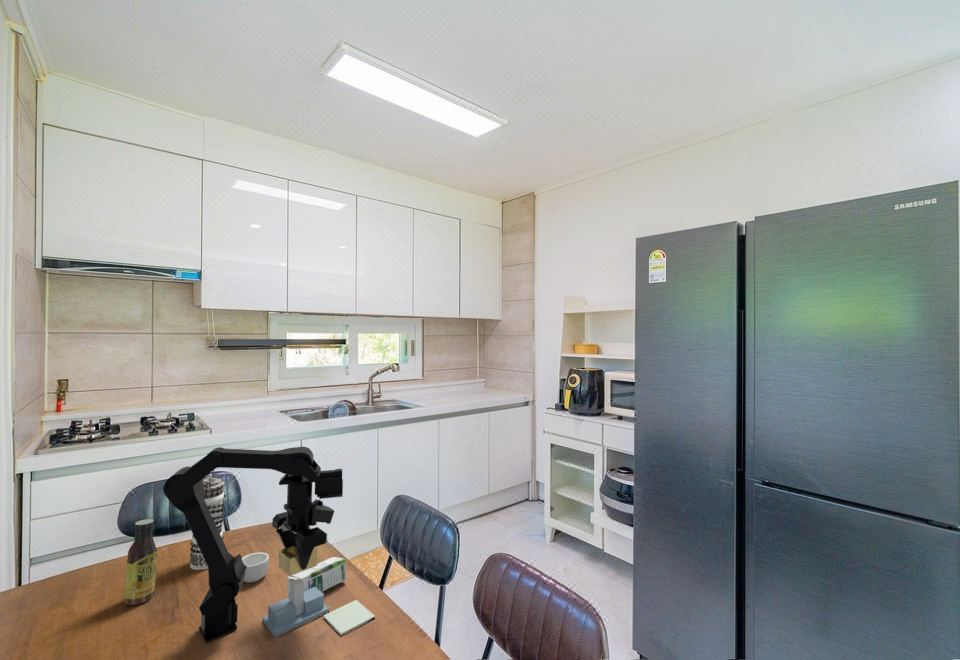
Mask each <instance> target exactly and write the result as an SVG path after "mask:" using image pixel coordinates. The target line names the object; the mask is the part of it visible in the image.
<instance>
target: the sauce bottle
mask: <svg viewBox="0 0 960 660" xmlns="http://www.w3.org/2000/svg"><path fill="white" fill-rule="evenodd" d="M154 526H155V520H154V519H152V518H147V519H141V520H138V521H137V522H135V523H134V527H133V528H134V530H135V531H134V540H133V543H132V544H131V546H130V547H129V550H127V551H128V552H127V561H126V567H125V568H126V569H125V582H124V595H123V596H124V604H125V605H127V606H137V605H140V604H143V603H146V602H148V601H149V600H150V599H151V598H153V597H154V595H155V591H156V590H155V589H156V577H157V576H156V575H157V560H158V550H157V549H158V548H157V547H156V546H157V545H156V542H155V540H154V537H153V536H154V534H153V533H154V529H153V528H154Z"/></svg>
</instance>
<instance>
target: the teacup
mask: <svg viewBox="0 0 960 660" xmlns="http://www.w3.org/2000/svg"><path fill="white" fill-rule="evenodd" d="M242 561H243V563H244V565H245V566H247V568H246V570H245V578H244V581H243V583H244V582H245V583H248V584H250V583H251V584H252V583H255V582H258V581H260V580H261V579H263V578H264V576H265V575H266V574H267V572H268V569H269V563H270V557H269V554H268V553H266V552H261V551H260V552H253V553H249V554H247V555H244V556H243V557H242Z"/></svg>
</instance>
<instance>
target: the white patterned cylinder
mask: <svg viewBox="0 0 960 660" xmlns="http://www.w3.org/2000/svg"><path fill="white" fill-rule="evenodd" d="M203 483H204V495H205V502H206V504H207V507H208V509H209V511H210V513H211V516H212V518H213V520H214V522H215V524H216V527H217V529H218V531H219V533H220V535H221V538H222V540H223V541H224V535H223V523H224V521H225V518H224V517H225V516H226V514H225V512H223V511H225V510H226V506H225V505H226V504H227V503H226V502H227V501H225V500H223V499H225V498H226V497H227V494H225V493H224V485H225V483H226V482H225V481H223V480H222V479H221V478H220V477H217V476H216V477H215V476H212V477H204V478H203ZM189 551H190V553H189V558H190V559H189V563H190V564H189V567H190V569H191V570H194V571H195V570H196V571H201V570H208V566H207V564H206V562H205V559H204V557H203V555H202V553H201V551H200V548H199V546H198V544H197V542H196V540H195V538H194V535H193V534H192V535H191V542H190V550H189Z"/></svg>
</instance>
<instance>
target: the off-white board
mask: <svg viewBox="0 0 960 660" xmlns="http://www.w3.org/2000/svg"><path fill="white" fill-rule="evenodd" d="M322 616H323V617H324V618H325V619H326V620H327V621H328V622H329V623H328V622H327V621H326V620H325V619H324V618H323V617H322V618H323V619H324V620H325V621H326V622H327V623H328V624H329V626H331V625H332V626H333V627H334V628H333V627H332V626H331V627H332V628H333V630H335V632H336V633H337V632H338V633H339V634H340V635H342V634H344V633H346V632H348V631H350V630H352V629H354V628H355V627H357V626H359V627H361V626H362V625H361V624H363V625H365V624H367V623H368V622H367V621H369V620H371V619H372V618H375V619H376V615H375V614H374V613H372V612H371V611H370V610H369V609H368V608H366V606H365V605H363V604H362V603H360V602H359V600H357V599H355V600H353V601H351V602H349V603H347V604H345V605H342V606H341V607H338V608H337V609H334V610H332V611H329V613H327V614H325V615H322ZM371 621H372V620H371ZM366 622H367V623H366ZM369 622H370V621H369ZM364 623H365V624H364ZM360 625H361V626H360ZM354 630H355V629H354ZM352 631H353V630H352ZM350 632H351V631H350ZM348 633H349V632H348ZM339 634H338V635H339ZM346 634H347V633H346ZM340 635H339V636H340ZM344 635H345V634H344ZM342 636H343V635H342Z"/></svg>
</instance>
